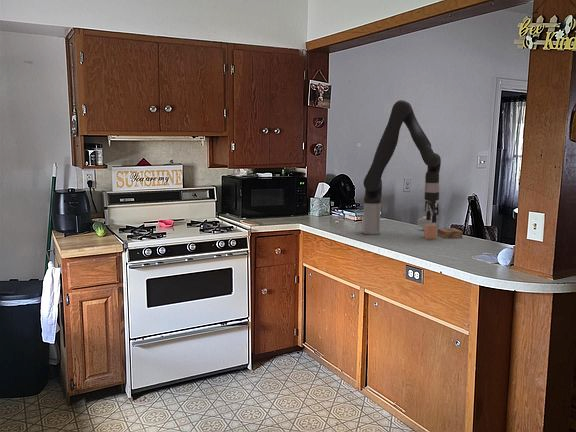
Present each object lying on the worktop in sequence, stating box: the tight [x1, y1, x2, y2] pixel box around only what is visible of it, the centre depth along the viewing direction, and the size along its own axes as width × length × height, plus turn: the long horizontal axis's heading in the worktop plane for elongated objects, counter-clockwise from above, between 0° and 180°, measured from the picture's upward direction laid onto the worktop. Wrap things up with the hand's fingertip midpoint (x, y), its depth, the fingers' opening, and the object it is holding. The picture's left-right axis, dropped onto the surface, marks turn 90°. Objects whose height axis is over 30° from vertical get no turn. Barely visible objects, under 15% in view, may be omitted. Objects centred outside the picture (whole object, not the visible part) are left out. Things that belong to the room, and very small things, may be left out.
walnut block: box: [436, 227, 464, 239], centre depth 292 cm, size 10×10×4 cm
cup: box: [417, 215, 438, 230], centre depth 310 cm, size 11×8×8 cm
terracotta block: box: [423, 224, 438, 240], centre depth 288 cm, size 5×5×7 cm
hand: (431, 221), depth 287 cm, fingers open, 8 cm apart
